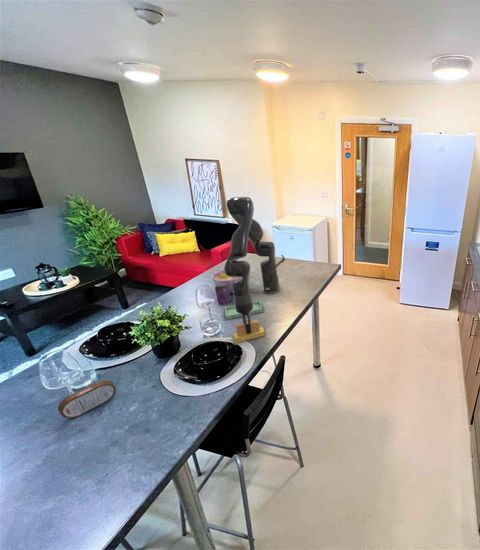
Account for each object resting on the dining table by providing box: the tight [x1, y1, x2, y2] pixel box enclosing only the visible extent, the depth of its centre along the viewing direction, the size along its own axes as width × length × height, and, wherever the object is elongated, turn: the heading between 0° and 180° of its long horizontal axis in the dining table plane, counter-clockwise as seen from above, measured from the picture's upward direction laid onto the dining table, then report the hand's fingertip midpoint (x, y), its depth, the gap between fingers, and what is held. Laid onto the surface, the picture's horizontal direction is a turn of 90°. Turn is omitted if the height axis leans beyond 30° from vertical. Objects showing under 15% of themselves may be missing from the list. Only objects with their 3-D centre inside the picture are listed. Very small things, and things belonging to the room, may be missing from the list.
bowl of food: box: [211, 268, 242, 294], centre depth 185 cm, size 20×20×12 cm
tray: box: [224, 300, 264, 320], centre depth 164 cm, size 10×19×2 cm, turn 116°
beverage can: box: [214, 282, 231, 305], centre depth 171 cm, size 7×7×12 cm
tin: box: [57, 379, 117, 419], centre depth 102 cm, size 15×3×8 cm, turn 145°
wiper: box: [232, 319, 266, 344], centre depth 142 cm, size 5×14×8 cm, turn 116°
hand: (248, 331), depth 142 cm, fingers closed on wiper, 2 cm apart
